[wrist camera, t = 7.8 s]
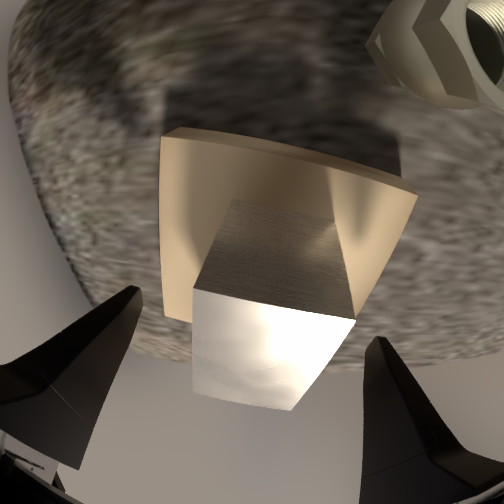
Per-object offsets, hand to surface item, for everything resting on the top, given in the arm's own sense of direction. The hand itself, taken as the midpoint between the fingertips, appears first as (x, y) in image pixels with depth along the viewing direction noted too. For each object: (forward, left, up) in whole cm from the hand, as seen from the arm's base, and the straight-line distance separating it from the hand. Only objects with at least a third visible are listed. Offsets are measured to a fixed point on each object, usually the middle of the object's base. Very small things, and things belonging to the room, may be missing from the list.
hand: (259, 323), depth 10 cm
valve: (-7, -12, -6) cm, 15 cm away
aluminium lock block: (0, 0, -3) cm, 3 cm away
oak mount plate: (0, 0, -5) cm, 5 cm away
